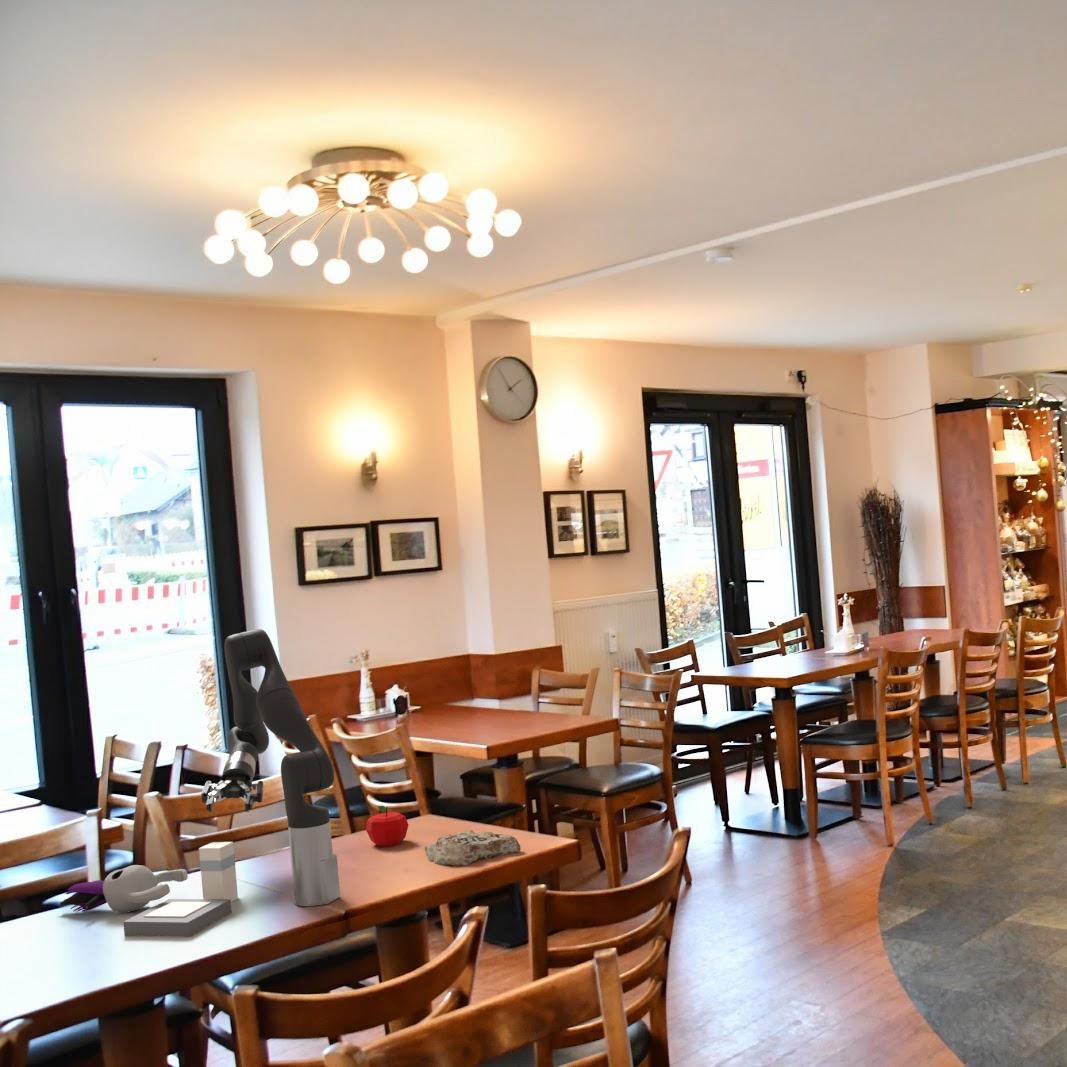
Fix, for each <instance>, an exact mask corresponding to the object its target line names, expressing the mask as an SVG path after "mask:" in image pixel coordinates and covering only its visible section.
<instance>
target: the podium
mask: <svg viewBox="0 0 1067 1067" xmlns="http://www.w3.org/2000/svg"><path fill="white" fill-rule="evenodd" d="M230 914H232V902H231V899H203V898H169V899H166V900H164V901H162V902H161V903H158V904H156V905H155V906H152V907H149V908H148V909H146V910H143V911H142V912H140V913H138V914H136V915H134V916H132V917H129V918H128V919H126V920H124V921H123V922H122V923H123V932H124V933H123V935H124V936H125V937H163V938H164V937H165V938H166V937H167V938H169V937H171V938H178V937H179V938H181V937H184V938H190V937H191V936H193V935H195V934H197V933H198V932H200V931H202V930H204V929H205V928H208V927H209V926H211V925H213V924H214V923H216V922H218V921H220V920H222V919H223V918H225V917H227V916H229V915H230Z"/></svg>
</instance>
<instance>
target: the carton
mask: <svg viewBox="0 0 1067 1067" xmlns="http://www.w3.org/2000/svg"><path fill="white" fill-rule="evenodd" d="M198 853H199V855H198V856H199V869H200V871H199V872H200V876H201V888H202V899H231V903H232V902H234V901H236V900H237V899H239V894H238V883H237V882H238V881H237V880H238V879H237V871H236V855H235V854H236V853H235V847H234V841H213V842H209V843H208V844H205V845H203V846H201V847H199V848H198Z"/></svg>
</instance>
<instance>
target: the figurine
mask: <svg viewBox="0 0 1067 1067" xmlns="http://www.w3.org/2000/svg"><path fill="white" fill-rule="evenodd" d="M188 878H189V877H188V872H187V870H186V869H185V868H180V869H174V870H167V871H163V872H160V873H157V874H154V873H153V871H151V869H149V868H148V867H147V866H145V865H139V864H132V865H128V866H126V867H124V868H120V869H116V870H114V871H111V872H110V873H109V874H107V876H106V877H105V879H104V880H101V879H97V880H94V881H85V882H81V883H75V884H73V885H72V886H70V887H68V888H67V890H68V891H67V892H65V894H66V895H70V894H71V895H70V896H69V897H67V898H65V899H64V900H62V901H60V903H59V905H60V906H62V907H64V906H72V907H70V909H73V911H72V913H74V912H75V914H77V913H78V912H80V911H81V912H89V911H91V910H94V909H96V908H98V907H101V906H103V905H105V904H107V905H108V906H109V908H110V909H111V910H112V911H114V912H116V913H120V914H121V913H123V914H124V913H125V914H126V913H130V912H133V911H137V910H140V909H142V908H144V907H145V906H147V905H148V904H149V903H150V902H153V901H156V900H157V901H158V900H161V899H162V898H164V897H166V896H167V895H169V893H170V892H171V889H170V885H169V884H167V883H165V882H172V881H173V882H178V883H180V882H181V883H182V882H185V881H187V880H188ZM163 882H164V883H165V884H160V883H163ZM76 907H77V908H76ZM74 908H75V909H74Z"/></svg>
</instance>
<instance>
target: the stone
mask: <svg viewBox="0 0 1067 1067" xmlns="http://www.w3.org/2000/svg"><path fill="white" fill-rule="evenodd" d="M423 849H424V851H425V855H426V856H427V858H428V862H433V863H434V864H436V865H445V866H446V865H451V866H469V865H471V864H473V863H476V862H480V861H481V862H482V861H484V860H489V859H493V858H496V857H498V856H502V855H507V854H515V853H519V852H520V851H521V849H522V848H521V845H520V843H519V842H518V839H517V838H516V837H514V836H513V835H509V834H508V835H507V834H501V833H493V832H492V831H482V832H480V833H475V832H474V831H473V830H472V829H468V830H467V829H466V830H463V831H459V832H455V833H453V834H445V835H443V836H441V837H440V836H439V837H438V838H437V840H436V841H435V842H434V843H431V844H428V845H425V846H424V848H423Z"/></svg>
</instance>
